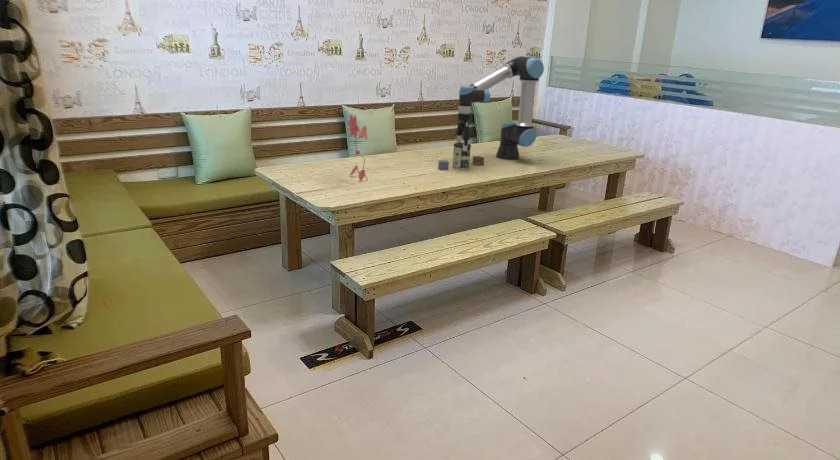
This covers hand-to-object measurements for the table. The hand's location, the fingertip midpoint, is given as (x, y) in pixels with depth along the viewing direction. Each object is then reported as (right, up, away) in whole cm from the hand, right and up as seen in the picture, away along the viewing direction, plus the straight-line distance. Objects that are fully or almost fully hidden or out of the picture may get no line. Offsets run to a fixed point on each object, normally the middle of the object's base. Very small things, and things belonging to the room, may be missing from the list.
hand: (461, 148), depth 327 cm
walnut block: (+11, -8, +12) cm, 19 cm away
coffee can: (0, -11, +4) cm, 12 cm away
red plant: (-62, -22, -32) cm, 73 cm away
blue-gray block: (-11, -13, -2) cm, 17 cm away
